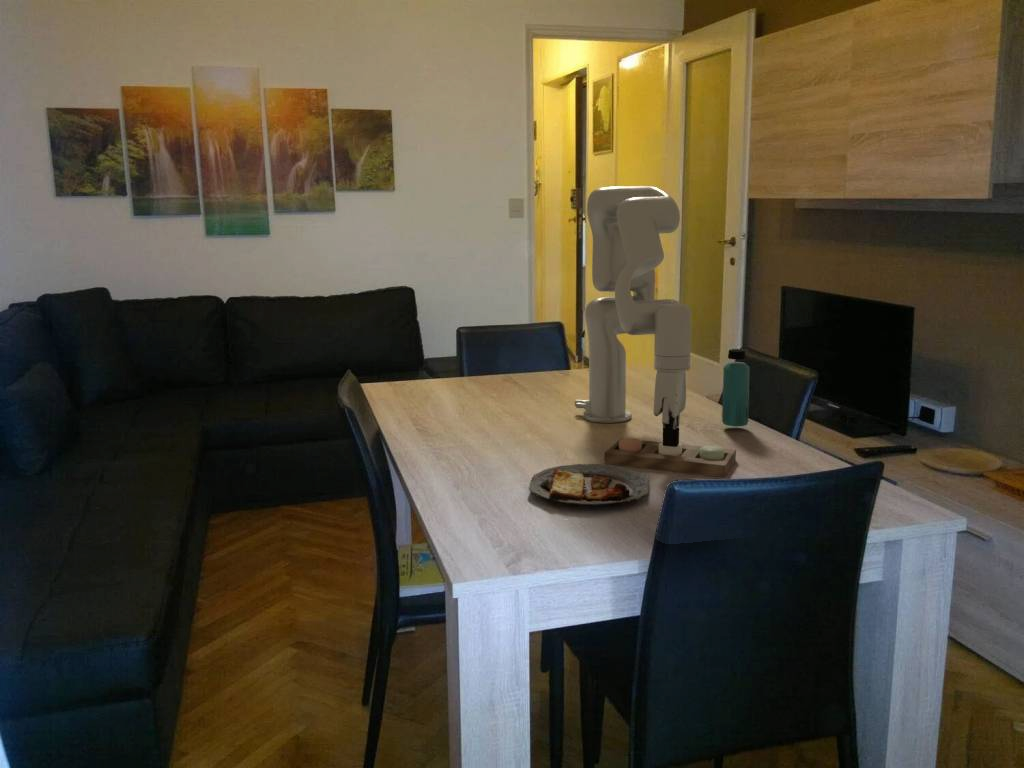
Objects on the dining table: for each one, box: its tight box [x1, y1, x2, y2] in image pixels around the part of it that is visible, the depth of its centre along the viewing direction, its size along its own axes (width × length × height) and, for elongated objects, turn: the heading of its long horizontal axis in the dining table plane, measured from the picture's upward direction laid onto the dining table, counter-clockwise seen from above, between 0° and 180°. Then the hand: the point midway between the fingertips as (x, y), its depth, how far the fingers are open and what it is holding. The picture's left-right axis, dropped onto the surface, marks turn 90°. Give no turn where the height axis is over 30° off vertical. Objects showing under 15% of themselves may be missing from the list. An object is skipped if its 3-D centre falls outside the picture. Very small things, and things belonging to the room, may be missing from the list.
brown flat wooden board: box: [603, 437, 737, 478], centre depth 187 cm, size 26×12×2 cm, turn 65°
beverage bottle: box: [721, 348, 751, 427], centre depth 210 cm, size 6×7×20 cm
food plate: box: [528, 463, 650, 507], centre depth 170 cm, size 25×23×4 cm
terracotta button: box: [619, 437, 642, 452], centre depth 190 cm, size 5×5×4 cm
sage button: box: [700, 445, 725, 461], centre depth 183 cm, size 5×5×4 cm
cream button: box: [659, 442, 683, 456], centre depth 187 cm, size 5×5×4 cm
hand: (670, 445), depth 186 cm, fingers closed
